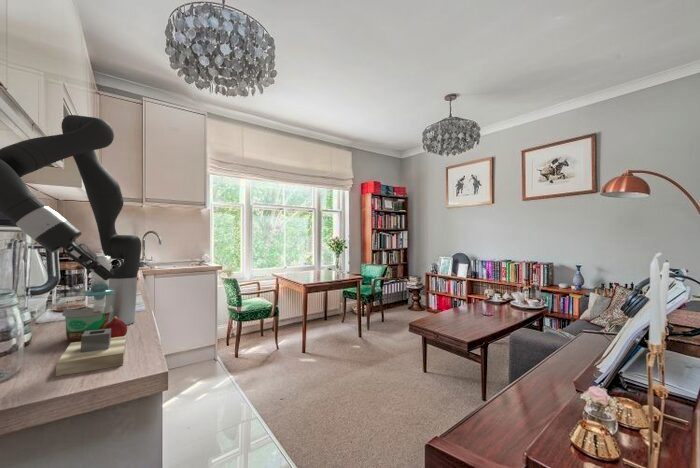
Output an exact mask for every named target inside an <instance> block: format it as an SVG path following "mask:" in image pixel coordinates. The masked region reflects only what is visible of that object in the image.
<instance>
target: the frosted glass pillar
mask: <svg viewBox="0 0 700 468" xmlns="http://www.w3.org/2000/svg"><path fill="white" fill-rule="evenodd" d="M95 259H96V260H97V261H98V262H100V263H101V264H102V265H103V266H104V267H105V268H106V269H108V270H109V271H110V269H111V260H112V259H111V256H105V255H97V256H95ZM100 266H101V265H100ZM93 271H94V270H93ZM93 271H91V284H90V289H87V290H84V294H83V295H84V297H93V305H92V306H93V307H92V308H93V314H98V313H104V307H105V296H106V295H112V294H114V289H109V279H108V280H104V279H102V278H101V277H100V276H99V275H97V274H96V273H95V272H93Z"/></svg>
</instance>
